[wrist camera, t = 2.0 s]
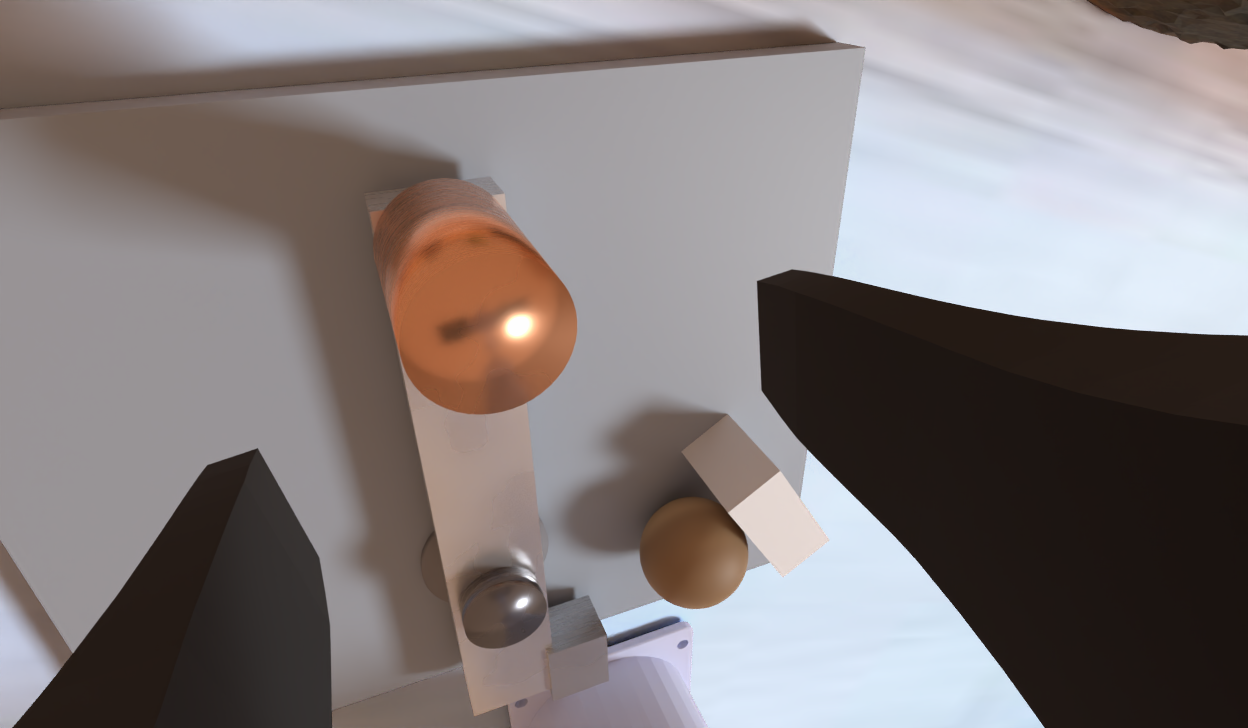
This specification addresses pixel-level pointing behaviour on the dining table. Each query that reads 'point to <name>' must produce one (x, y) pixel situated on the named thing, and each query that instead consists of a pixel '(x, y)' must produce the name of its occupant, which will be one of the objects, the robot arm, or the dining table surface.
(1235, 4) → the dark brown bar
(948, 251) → the dining table surface
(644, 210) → the flat white platform
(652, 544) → the brown sphere
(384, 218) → the lever
